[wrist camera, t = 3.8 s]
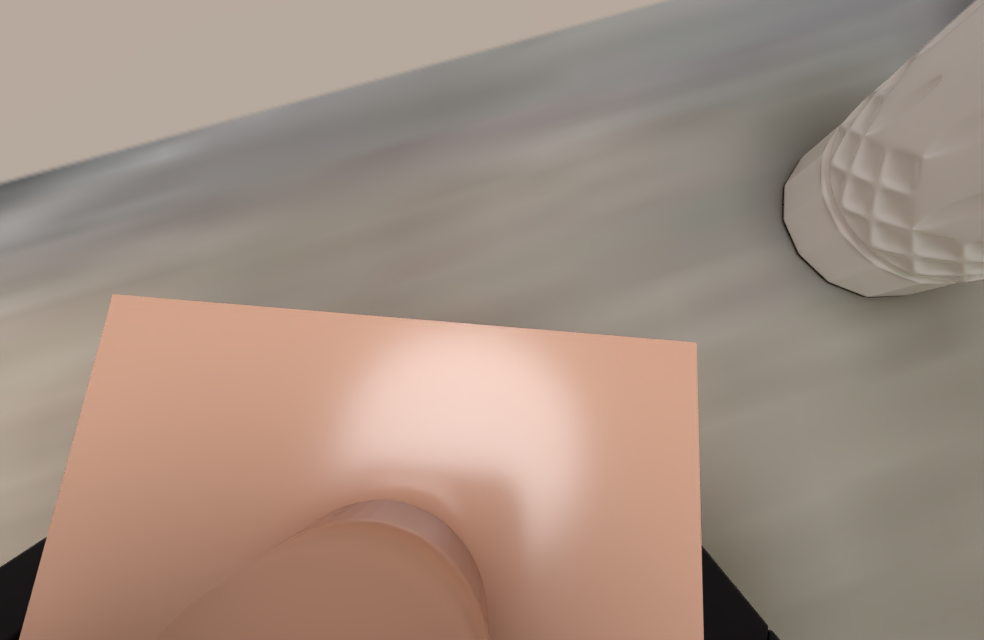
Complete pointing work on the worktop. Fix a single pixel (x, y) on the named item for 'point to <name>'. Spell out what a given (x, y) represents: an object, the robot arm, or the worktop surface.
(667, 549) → the pink square bottle
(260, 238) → the worktop surface
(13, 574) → the robot arm
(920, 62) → the white cup
